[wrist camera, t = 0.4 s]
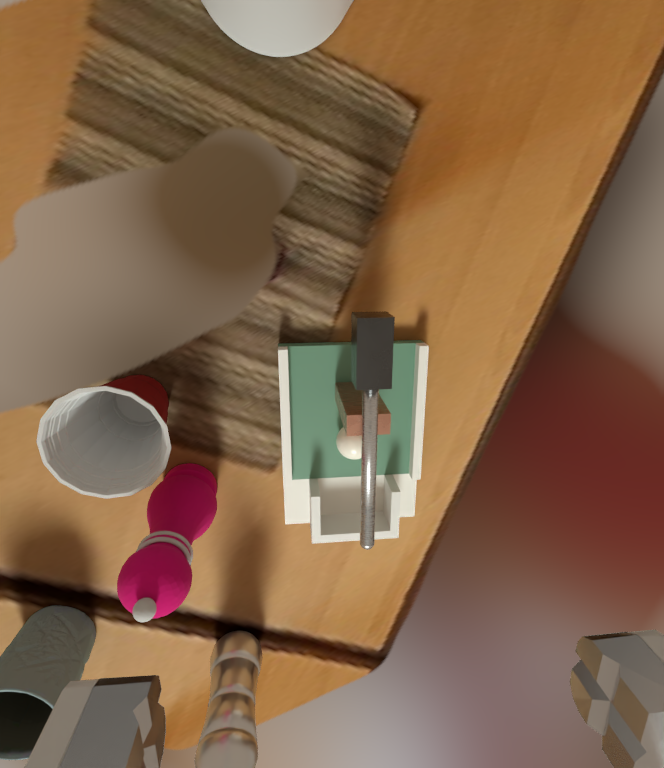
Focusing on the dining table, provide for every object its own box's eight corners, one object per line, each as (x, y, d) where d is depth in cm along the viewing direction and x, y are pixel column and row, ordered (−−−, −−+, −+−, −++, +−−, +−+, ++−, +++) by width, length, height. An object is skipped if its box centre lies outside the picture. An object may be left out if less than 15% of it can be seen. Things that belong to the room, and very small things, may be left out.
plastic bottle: (204, 634, 61) (169, 812, 42) (251, 616, 61) (237, 785, 42) (225, 667, 63) (201, 851, 44) (271, 649, 63) (266, 826, 44)
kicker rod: (334, 299, 47) (350, 318, 36) (373, 298, 48) (400, 317, 37) (335, 493, 54) (348, 559, 43) (368, 491, 55) (390, 556, 44)
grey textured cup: (44, 588, 57) (-16, 675, 45) (119, 622, 59) (80, 713, 48) (5, 643, 59) (-61, 741, 47) (80, 674, 61) (33, 773, 50)
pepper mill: (188, 447, 53) (136, 563, 34) (234, 485, 55) (208, 616, 36) (145, 486, 54) (71, 621, 35) (192, 523, 56) (146, 669, 37)
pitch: (278, 343, 50) (277, 355, 45) (420, 340, 52) (436, 351, 47) (285, 517, 57) (285, 545, 52) (411, 509, 59) (423, 536, 53)
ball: (334, 418, 52) (338, 432, 48) (369, 417, 53) (375, 431, 49) (334, 450, 53) (338, 466, 50) (368, 449, 54) (374, 465, 50)
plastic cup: (168, 460, 53) (137, 520, 42) (76, 418, 51) (16, 471, 39) (211, 381, 51) (190, 422, 40) (116, 334, 48) (65, 363, 37)
